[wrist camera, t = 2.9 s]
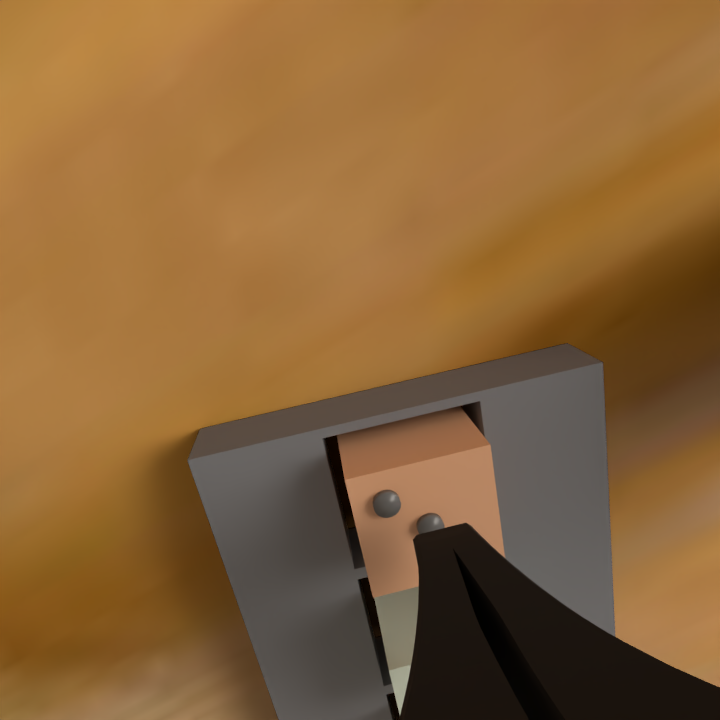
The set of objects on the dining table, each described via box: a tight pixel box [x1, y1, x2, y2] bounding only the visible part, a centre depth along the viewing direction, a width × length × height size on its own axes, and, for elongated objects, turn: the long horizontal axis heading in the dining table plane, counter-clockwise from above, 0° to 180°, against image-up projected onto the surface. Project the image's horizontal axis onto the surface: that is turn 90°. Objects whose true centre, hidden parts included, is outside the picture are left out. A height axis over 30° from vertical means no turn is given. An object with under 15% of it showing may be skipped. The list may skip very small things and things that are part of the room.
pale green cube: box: [374, 586, 419, 714], centre depth 15 cm, size 4×4×4 cm
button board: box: [187, 343, 615, 720], centre depth 18 cm, size 15×12×2 cm
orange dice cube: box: [337, 406, 505, 598], centre depth 15 cm, size 4×4×4 cm
